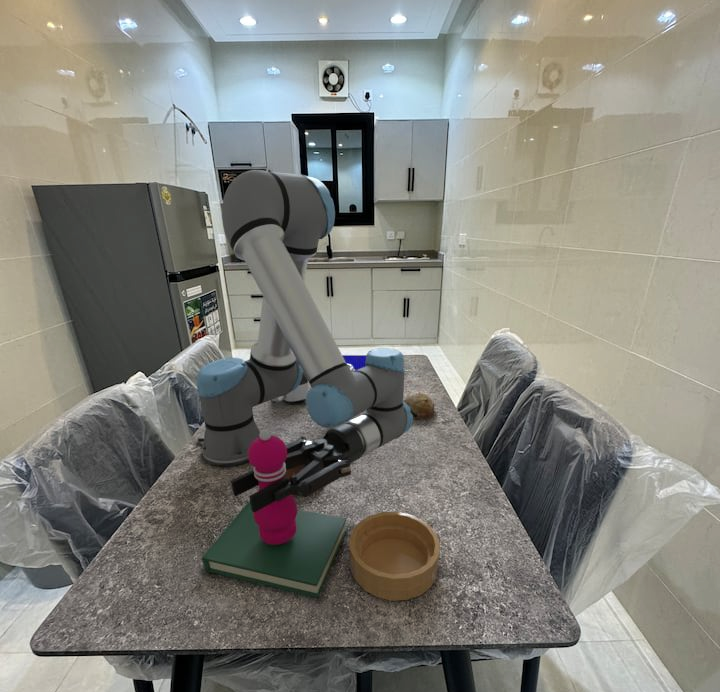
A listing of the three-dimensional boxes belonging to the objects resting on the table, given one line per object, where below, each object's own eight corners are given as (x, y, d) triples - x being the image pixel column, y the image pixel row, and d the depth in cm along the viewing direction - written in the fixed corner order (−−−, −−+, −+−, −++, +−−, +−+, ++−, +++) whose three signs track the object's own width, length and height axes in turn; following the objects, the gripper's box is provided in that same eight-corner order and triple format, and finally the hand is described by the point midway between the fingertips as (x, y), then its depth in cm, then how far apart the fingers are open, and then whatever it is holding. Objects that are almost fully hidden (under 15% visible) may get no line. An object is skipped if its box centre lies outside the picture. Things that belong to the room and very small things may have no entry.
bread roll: (399, 424, 119) (396, 408, 113) (407, 400, 125) (405, 383, 119) (431, 430, 115) (429, 413, 110) (438, 404, 121) (437, 387, 116)
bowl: (339, 590, 60) (337, 566, 58) (363, 526, 73) (363, 505, 71) (432, 612, 56) (435, 587, 54) (441, 541, 69) (443, 519, 67)
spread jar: (312, 402, 127) (310, 369, 122) (281, 411, 121) (277, 376, 116) (297, 391, 136) (294, 359, 131) (266, 398, 130) (262, 366, 125)
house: (333, 380, 146) (332, 350, 141) (386, 380, 144) (386, 350, 140) (329, 392, 135) (327, 360, 130) (386, 392, 133) (386, 360, 129)
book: (204, 571, 64) (201, 557, 63) (251, 512, 77) (249, 500, 76) (317, 598, 59) (316, 584, 58) (346, 530, 72) (346, 518, 71)
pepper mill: (279, 553, 62) (264, 446, 54) (247, 537, 65) (229, 433, 57) (307, 526, 67) (298, 425, 59) (277, 512, 71) (264, 415, 63)
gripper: (386, 475, 69) (278, 545, 54) (322, 441, 81) (218, 491, 66) (386, 439, 66) (272, 502, 51) (320, 409, 78) (211, 454, 63)
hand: (242, 496), depth 59 cm, fingers closed on pepper mill, 5 cm apart
